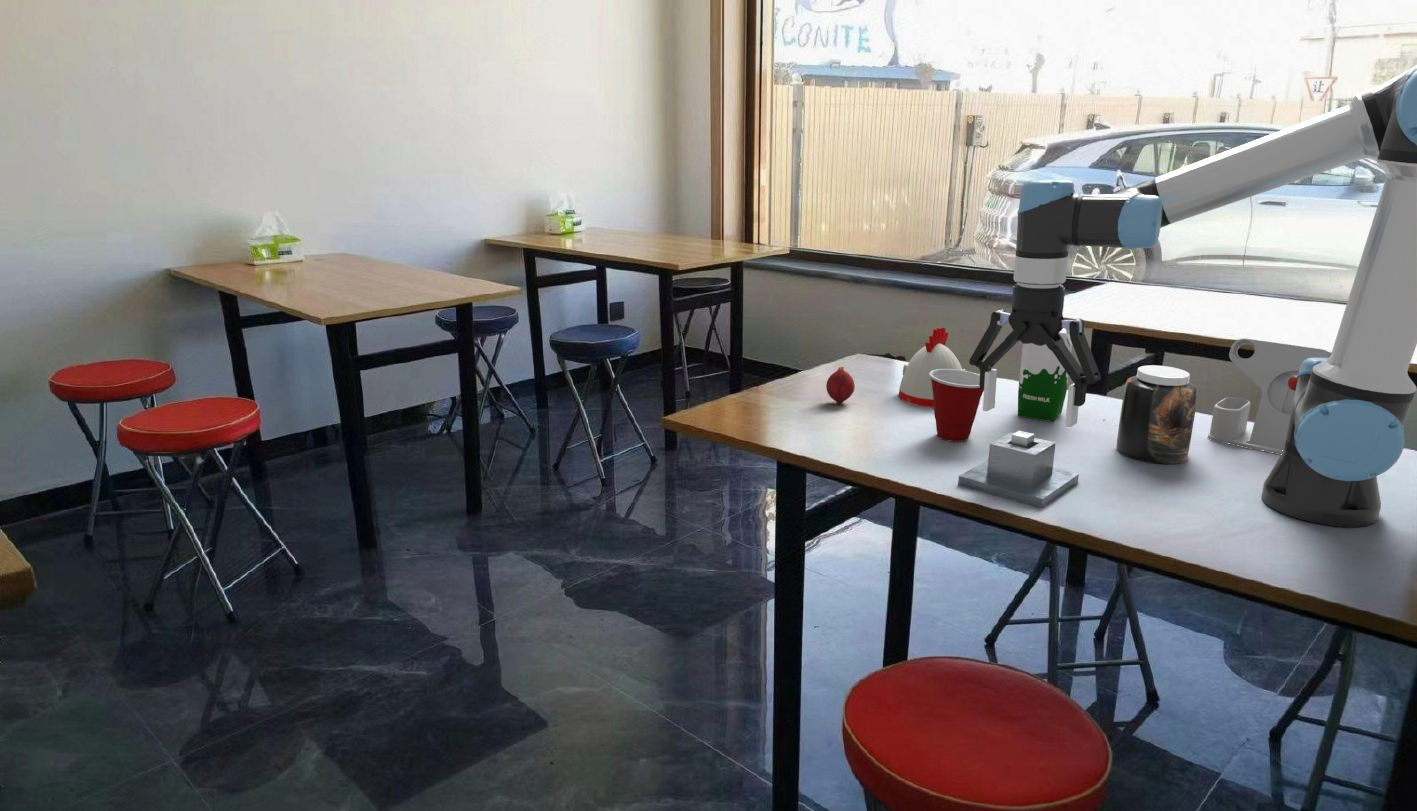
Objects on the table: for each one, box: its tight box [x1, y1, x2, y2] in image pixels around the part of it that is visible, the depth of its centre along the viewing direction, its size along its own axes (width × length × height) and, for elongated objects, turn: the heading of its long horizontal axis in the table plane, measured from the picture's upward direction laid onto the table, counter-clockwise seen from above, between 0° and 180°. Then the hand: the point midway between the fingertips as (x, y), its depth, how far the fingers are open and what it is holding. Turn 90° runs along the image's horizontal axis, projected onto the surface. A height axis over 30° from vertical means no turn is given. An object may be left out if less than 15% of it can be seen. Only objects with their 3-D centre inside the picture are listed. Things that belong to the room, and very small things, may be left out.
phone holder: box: [1207, 338, 1331, 454], centre depth 166 cm, size 17×10×18 cm, turn 46°
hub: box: [987, 432, 1056, 488], centre depth 149 cm, size 8×8×6 cm
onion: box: [825, 365, 855, 404], centre depth 191 cm, size 6×6×8 cm
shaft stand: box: [957, 430, 1080, 509], centre depth 149 cm, size 14×14×8 cm
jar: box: [1116, 364, 1198, 465], centre depth 162 cm, size 12×12×15 cm
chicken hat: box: [898, 327, 967, 408], centre depth 195 cm, size 14×14×15 cm
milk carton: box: [1017, 328, 1073, 423], centre depth 182 cm, size 9×9×20 cm
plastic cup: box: [929, 369, 984, 442], centre depth 171 cm, size 11×11×12 cm
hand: (1028, 417), depth 147 cm, fingers open, 13 cm apart
